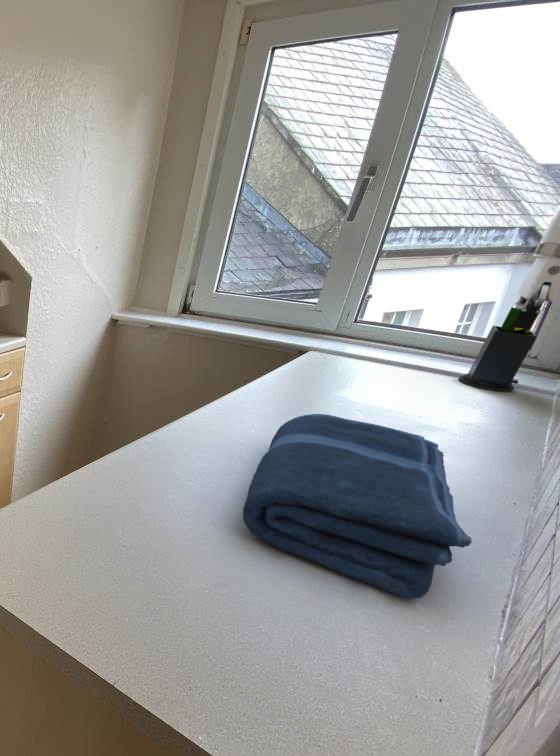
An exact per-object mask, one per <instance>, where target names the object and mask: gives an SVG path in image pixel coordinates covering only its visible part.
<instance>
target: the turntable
mask: <svg viewBox="0 0 560 756" xmlns="http://www.w3.org/2000/svg"><path fill="white" fill-rule="evenodd" d="M463 377H464V375H461V376H459V377H458V379H457V380H458V382H459V383H460V384H461V383H462V384H464V385H466V386H469V387H472V388H476V389H479V390H484V391H488V392H489V391H490V392H495V393H513V392H514V390H515V387H514V386H513V385H512V386H511V387H510V388H496V387H490V386H485V385H480V384H476V383H473V382H470V381H468V380H466V379H464V378H463Z"/></svg>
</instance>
